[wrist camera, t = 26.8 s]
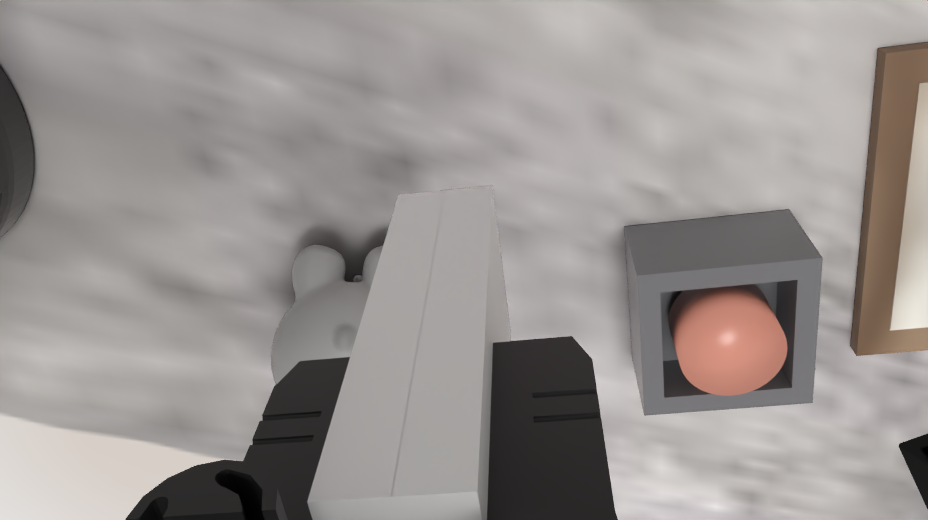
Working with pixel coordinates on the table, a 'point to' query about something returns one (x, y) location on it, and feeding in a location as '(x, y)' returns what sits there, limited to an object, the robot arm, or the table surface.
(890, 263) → the board
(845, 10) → the table surface
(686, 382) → the button housing
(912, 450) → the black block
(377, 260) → the round bodied animal figurine
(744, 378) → the button
